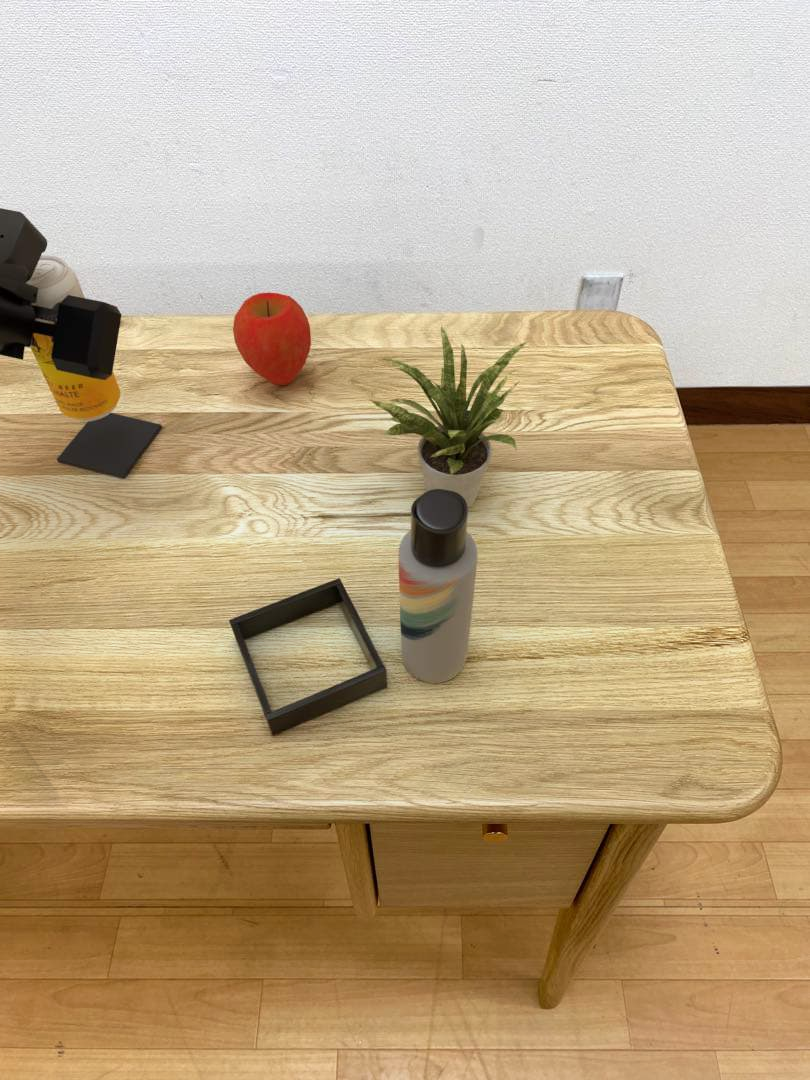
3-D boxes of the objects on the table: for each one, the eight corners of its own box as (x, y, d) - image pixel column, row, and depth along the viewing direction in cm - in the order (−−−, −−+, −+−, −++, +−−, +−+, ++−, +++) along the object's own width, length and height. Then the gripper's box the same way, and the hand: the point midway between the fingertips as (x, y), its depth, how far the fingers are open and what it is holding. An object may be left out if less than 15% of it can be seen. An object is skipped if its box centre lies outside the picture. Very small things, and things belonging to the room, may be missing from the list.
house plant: (455, 416, 85) (462, 287, 72) (553, 481, 79) (580, 353, 66) (359, 484, 79) (348, 356, 66) (458, 560, 73) (467, 436, 60)
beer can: (48, 411, 77) (-17, 278, 66) (93, 378, 81) (38, 245, 69) (91, 432, 75) (32, 299, 64) (135, 397, 79) (86, 264, 67)
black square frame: (272, 736, 62) (267, 720, 60) (235, 637, 68) (228, 619, 65) (387, 687, 65) (386, 670, 62) (342, 596, 70) (339, 577, 68)
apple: (228, 381, 89) (208, 301, 80) (284, 347, 93) (270, 267, 84) (277, 416, 85) (261, 336, 77) (332, 379, 89) (324, 298, 80)
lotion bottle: (447, 617, 69) (456, 463, 53) (478, 668, 66) (498, 520, 50) (390, 642, 67) (382, 491, 52) (419, 695, 64) (420, 551, 48)
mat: (124, 479, 80) (123, 475, 79) (58, 462, 81) (56, 459, 81) (162, 427, 84) (161, 424, 84) (98, 412, 86) (97, 409, 85)
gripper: (67, 214, 55) (177, 269, 70) (-144, 177, 59) (4, 237, 74) (44, 368, 57) (157, 390, 72) (-160, 323, 60) (-12, 353, 75)
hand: (75, 339), depth 73 cm, fingers closed on beer can, 6 cm apart
